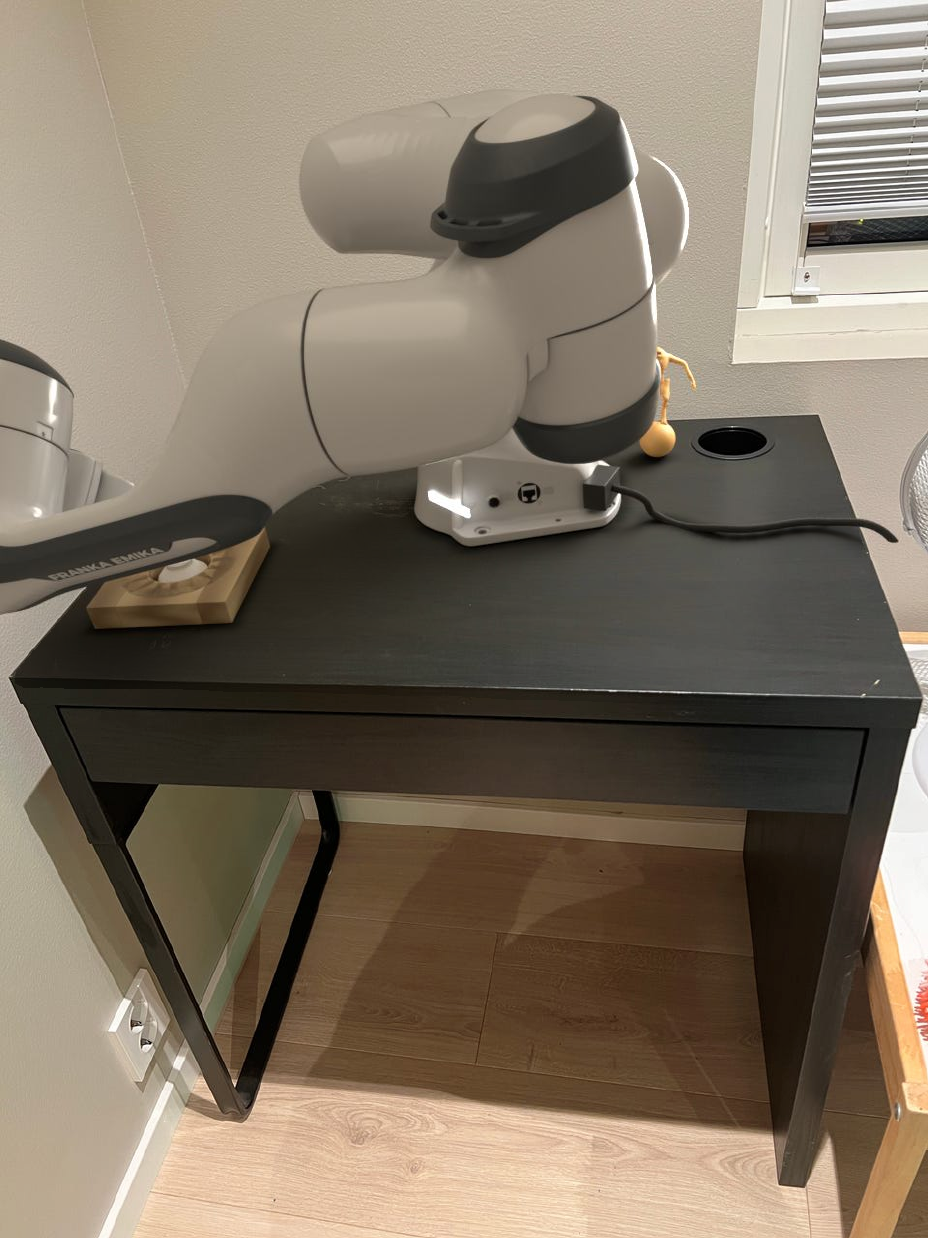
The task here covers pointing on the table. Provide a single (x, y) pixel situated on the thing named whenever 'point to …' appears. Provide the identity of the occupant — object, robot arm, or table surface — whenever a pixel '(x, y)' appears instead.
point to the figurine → (663, 412)
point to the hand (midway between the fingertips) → (130, 527)
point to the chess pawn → (181, 571)
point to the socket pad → (182, 592)
